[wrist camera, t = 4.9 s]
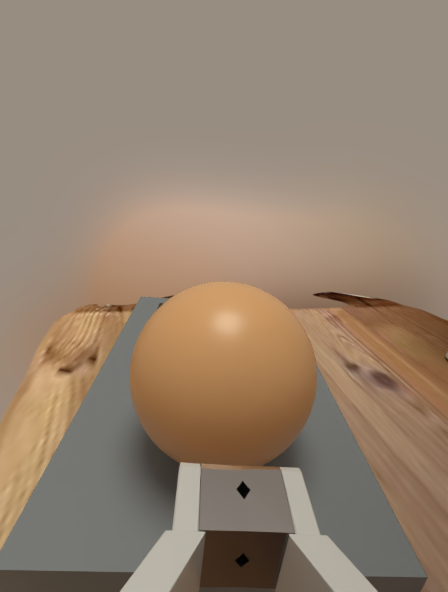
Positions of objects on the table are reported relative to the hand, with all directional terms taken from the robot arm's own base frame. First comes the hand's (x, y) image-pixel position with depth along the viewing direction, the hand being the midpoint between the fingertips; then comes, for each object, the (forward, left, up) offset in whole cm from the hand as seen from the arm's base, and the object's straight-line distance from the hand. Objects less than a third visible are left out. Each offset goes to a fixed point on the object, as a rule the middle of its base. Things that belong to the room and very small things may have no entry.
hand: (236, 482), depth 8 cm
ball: (-7, -6, -3) cm, 10 cm away
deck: (-12, -11, -11) cm, 20 cm away
